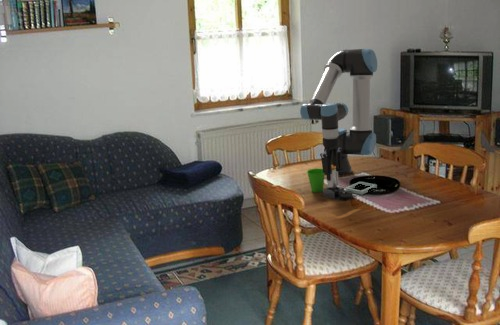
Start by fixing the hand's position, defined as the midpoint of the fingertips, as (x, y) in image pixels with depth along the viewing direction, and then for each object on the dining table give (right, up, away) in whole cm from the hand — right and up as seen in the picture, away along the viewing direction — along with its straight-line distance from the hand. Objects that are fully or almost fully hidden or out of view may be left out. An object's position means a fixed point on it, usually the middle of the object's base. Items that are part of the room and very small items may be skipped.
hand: (333, 185), depth 280 cm
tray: (+14, -3, +5) cm, 15 cm away
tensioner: (+3, -6, -1) cm, 6 cm away
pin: (0, -4, +1) cm, 5 cm away
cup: (-6, -4, +9) cm, 12 cm away
